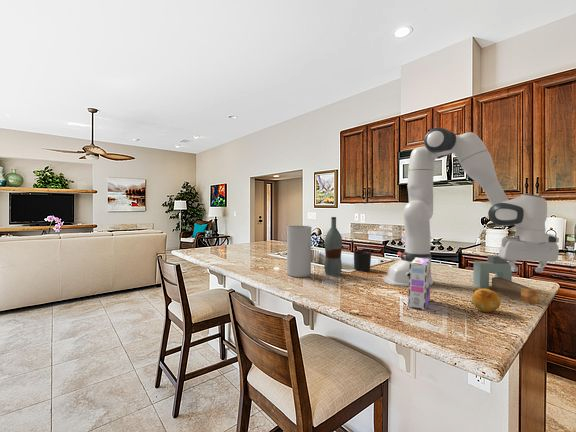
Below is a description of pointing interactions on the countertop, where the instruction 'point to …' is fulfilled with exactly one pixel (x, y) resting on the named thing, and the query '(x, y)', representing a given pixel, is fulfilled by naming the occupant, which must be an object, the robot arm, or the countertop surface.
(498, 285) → the bar
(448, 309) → the countertop surface
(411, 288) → the candy box
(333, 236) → the bottle
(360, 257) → the pen holder
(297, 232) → the cylinder vase
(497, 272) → the grey-green arch block
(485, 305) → the fruit
